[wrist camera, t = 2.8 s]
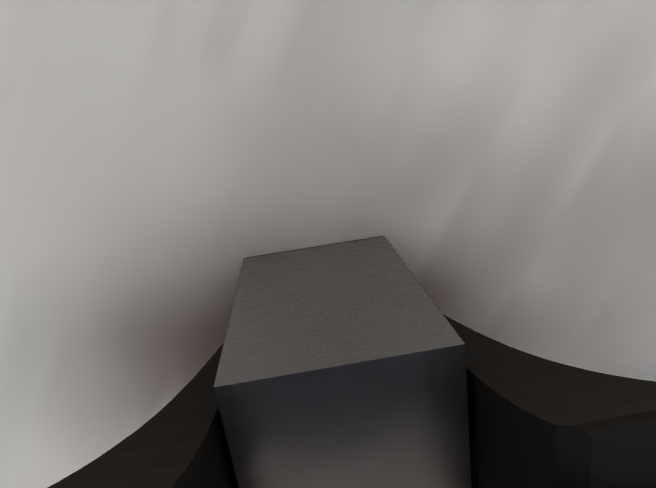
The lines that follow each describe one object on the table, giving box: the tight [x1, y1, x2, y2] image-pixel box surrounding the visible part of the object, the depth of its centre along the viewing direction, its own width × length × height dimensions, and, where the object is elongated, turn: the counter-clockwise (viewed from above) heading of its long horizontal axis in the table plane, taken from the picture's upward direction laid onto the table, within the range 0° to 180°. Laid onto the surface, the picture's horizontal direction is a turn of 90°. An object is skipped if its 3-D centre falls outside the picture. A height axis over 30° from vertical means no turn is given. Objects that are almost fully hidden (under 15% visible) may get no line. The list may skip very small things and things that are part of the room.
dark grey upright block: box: [213, 236, 472, 488], centre depth 11 cm, size 4×5×6 cm
